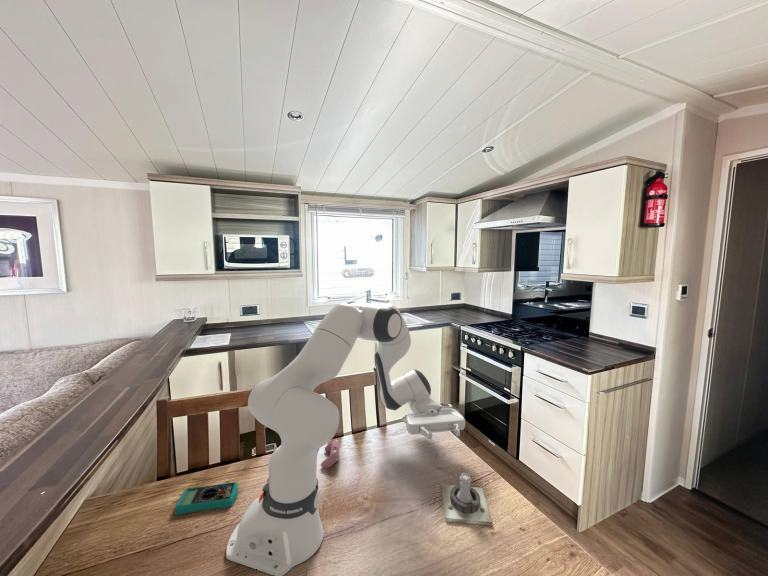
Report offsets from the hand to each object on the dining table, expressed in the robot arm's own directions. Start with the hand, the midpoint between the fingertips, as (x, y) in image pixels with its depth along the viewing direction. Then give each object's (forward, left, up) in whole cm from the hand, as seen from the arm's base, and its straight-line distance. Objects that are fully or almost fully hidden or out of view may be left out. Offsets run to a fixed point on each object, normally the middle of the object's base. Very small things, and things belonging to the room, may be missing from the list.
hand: (444, 435), depth 99 cm
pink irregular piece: (-37, +3, -14) cm, 40 cm away
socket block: (+5, -12, -13) cm, 19 cm away
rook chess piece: (+5, -12, -13) cm, 18 cm away
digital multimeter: (-67, -18, -14) cm, 71 cm away
